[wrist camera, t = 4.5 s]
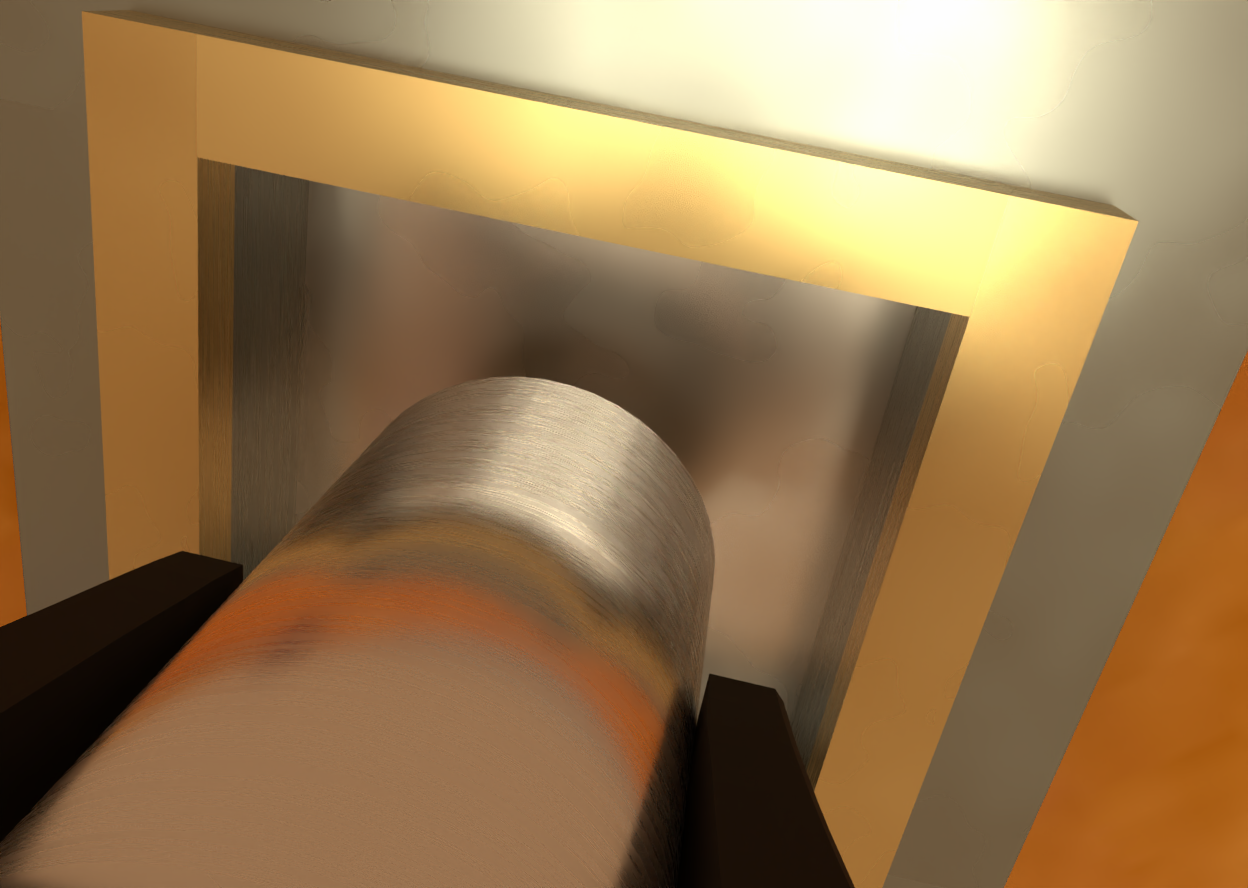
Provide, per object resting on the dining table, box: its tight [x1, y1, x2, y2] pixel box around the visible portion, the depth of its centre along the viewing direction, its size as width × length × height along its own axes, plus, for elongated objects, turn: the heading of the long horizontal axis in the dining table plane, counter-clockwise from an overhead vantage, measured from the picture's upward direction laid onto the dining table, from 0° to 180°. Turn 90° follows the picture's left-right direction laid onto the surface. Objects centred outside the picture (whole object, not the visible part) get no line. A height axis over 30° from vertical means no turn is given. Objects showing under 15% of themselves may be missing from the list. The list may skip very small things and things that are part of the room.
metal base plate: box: [0, 0, 1248, 888], centre depth 14 cm, size 20×14×4 cm
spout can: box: [0, 376, 715, 888], centre depth 8 cm, size 4×4×8 cm
